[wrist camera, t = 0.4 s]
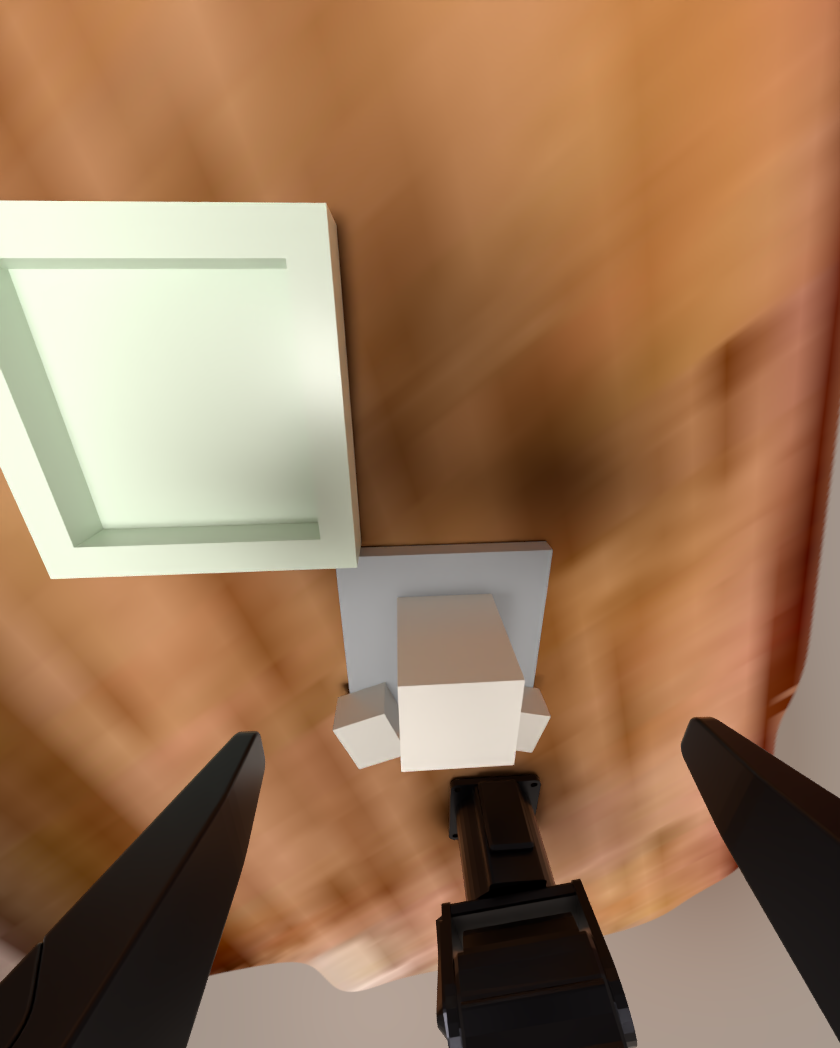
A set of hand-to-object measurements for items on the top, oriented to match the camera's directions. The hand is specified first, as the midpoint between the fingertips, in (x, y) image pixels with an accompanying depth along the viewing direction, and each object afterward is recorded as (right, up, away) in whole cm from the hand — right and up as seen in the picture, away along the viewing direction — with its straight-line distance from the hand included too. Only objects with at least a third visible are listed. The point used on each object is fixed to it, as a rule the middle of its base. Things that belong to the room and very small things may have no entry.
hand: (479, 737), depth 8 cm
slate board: (0, -2, +15) cm, 15 cm away
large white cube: (0, -2, +14) cm, 14 cm away
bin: (-11, +9, +9) cm, 17 cm away
